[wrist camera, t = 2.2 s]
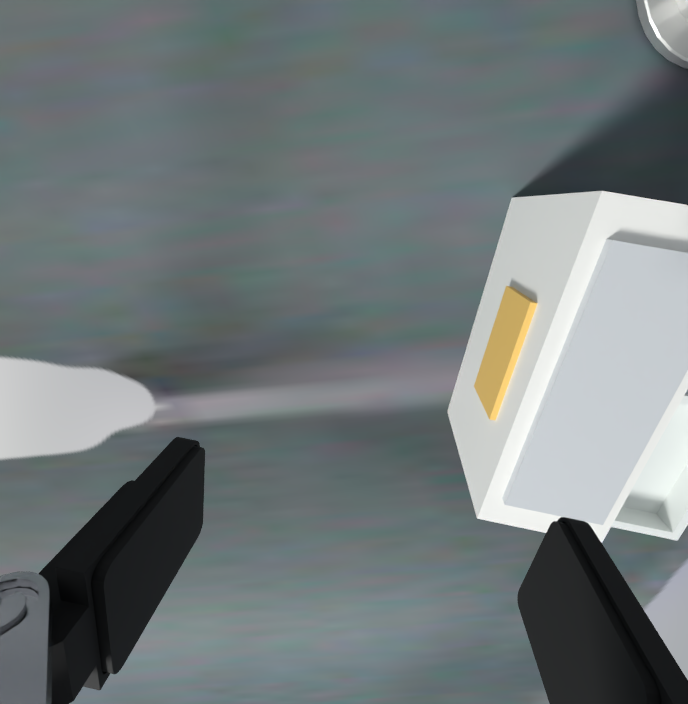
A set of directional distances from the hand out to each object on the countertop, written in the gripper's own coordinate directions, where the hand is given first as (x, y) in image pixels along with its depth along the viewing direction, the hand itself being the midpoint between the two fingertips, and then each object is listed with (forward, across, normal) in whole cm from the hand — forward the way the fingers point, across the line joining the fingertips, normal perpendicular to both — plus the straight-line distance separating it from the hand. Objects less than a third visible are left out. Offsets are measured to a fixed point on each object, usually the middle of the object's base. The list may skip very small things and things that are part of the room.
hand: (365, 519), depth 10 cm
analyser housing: (+26, -12, 0) cm, 29 cm away
